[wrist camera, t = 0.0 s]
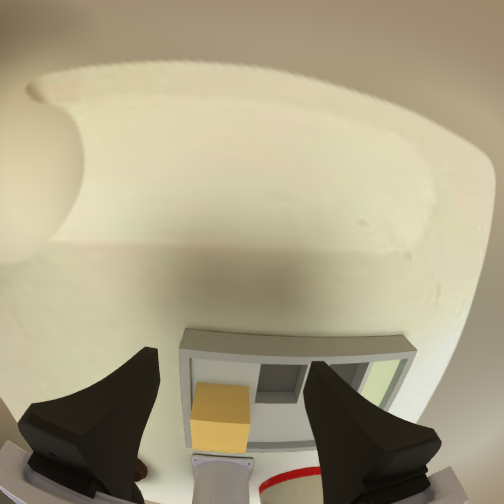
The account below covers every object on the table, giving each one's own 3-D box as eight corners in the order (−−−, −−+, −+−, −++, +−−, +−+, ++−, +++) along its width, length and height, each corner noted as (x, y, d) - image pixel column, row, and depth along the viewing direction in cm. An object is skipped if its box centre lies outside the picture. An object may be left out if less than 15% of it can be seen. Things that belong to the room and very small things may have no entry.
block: (244, 417, 23) (245, 453, 18) (197, 413, 23) (192, 449, 18) (248, 386, 22) (250, 424, 17) (196, 381, 21) (190, 419, 17)
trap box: (361, 425, 27) (368, 442, 24) (189, 427, 26) (186, 447, 23) (403, 335, 24) (417, 350, 21) (185, 328, 22) (178, 348, 19)
